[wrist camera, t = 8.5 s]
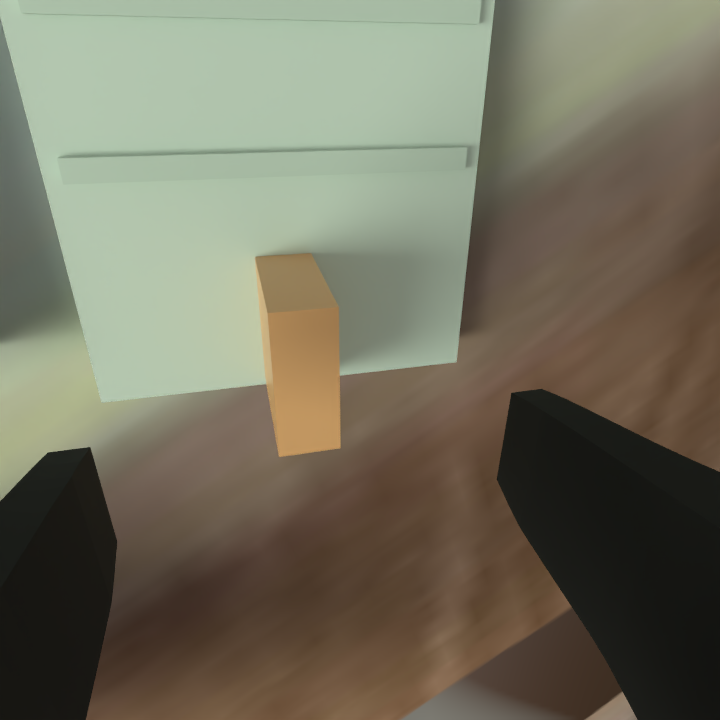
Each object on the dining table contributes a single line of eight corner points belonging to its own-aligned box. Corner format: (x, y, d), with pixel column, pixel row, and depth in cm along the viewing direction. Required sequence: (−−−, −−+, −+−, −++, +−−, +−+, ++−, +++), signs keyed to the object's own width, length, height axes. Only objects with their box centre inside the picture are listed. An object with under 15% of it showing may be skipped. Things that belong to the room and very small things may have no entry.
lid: (439, 341, 20) (511, 429, 15) (109, 376, 18) (73, 493, 13) (481, -136, 14) (626, -238, 9) (-28, -182, 11) (-201, -354, 7)
